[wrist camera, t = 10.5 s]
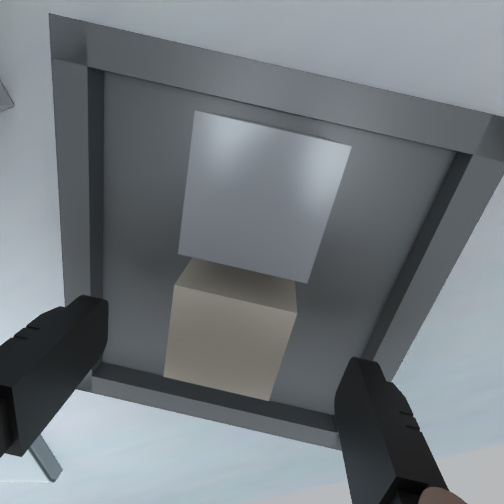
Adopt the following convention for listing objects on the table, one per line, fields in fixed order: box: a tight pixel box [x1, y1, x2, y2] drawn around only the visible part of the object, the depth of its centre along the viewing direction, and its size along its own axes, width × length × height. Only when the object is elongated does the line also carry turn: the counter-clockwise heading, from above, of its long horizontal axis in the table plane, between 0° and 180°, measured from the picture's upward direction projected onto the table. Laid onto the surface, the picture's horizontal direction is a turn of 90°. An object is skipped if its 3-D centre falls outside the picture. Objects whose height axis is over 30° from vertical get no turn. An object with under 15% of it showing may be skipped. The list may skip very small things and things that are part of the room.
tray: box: [49, 13, 504, 451], centre depth 13 cm, size 16×15×1 cm
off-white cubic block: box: [163, 257, 297, 401], centre depth 11 cm, size 4×4×4 cm
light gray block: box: [178, 111, 352, 283], centre depth 10 cm, size 4×4×4 cm
